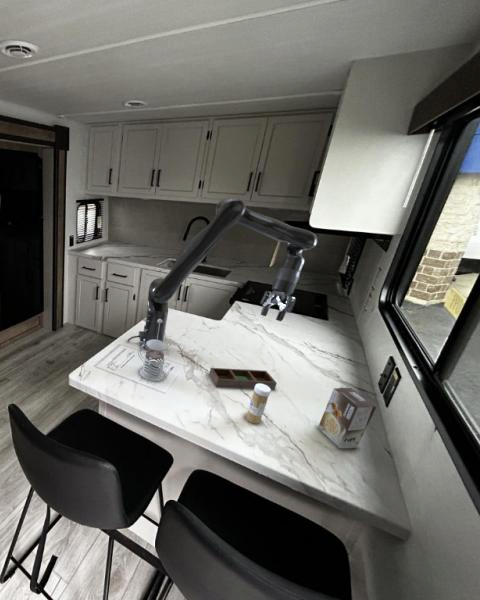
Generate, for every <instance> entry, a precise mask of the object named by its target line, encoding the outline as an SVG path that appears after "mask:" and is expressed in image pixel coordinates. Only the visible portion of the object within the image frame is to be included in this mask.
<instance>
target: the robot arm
mask: <svg viewBox="0 0 480 600" xmlns="http://www.w3.org/2000/svg"><path fill="white" fill-rule="evenodd" d="M236 224H238V225H241V226H243V227H247V228H248V229H250V230H253V231H255V232H257V233H258V234H261V235H263V236H264V237H267V238H269V239H272V240H274V241H276V242H280V243H286V245H285V252H284V259H283V261H282V263H281V265H280V268H279V270H278V271H277V273H276V276H275V278H274V281H273V284H272V286H271V289H272V291H268V290H266V291H264V294H263V296H262V298H261V300H260V305H262V309H261V311H260V316H263V317H266V316H267V314H268V313H269V310H270V308H271V307H272V306H274V305H277V306H278V307H279V311H278V313H277V315H276V318H275V320H276V321H278V322H282V321H283V320H284V318H285V316H286V313H292V311H293V309H294V306H295V304H296V301H297V298H296V297H295V296H291V295H293V293H294V291H295V288H296V286H297V283H298V282H299V279H300V276H301V275H300V274H301V272H302V269H303V267H304V265H305V261H306V260H305V257H303V256H302V255H303V251H308V250H311V249H314V248H315V247H316V246H317V244H318V237H317V235H316V234H315V233H314V232H312V231H311V230H307V229H304V228H300V227H297V226H296V227H295V226H292V225H289V224H288V223H285V222H283V221H280V220H279V219H275V218H273V217H270V216H267V215H264V214H261V213H258V212H256V211H253V210H251V209H249V208H247V207H246V204H245V202H244V201H243V199H240V198H239V197H238V198H237V197H226V198H223V199H221V200H220V201H219V202H218V203H217V204H216V207H215V216H214V217H213V218H212V219H211V221H210V222H209V224H208V225H206V226H205V227H204V228H203V229H202V230H200V231H199V232H198V233H197V234H196V235H194V236H193V237H192V238H191V239H190V240H189V241H188V242H187V244H185V246H184V247H183V248H182V249H181V251H180V252H179V254H178V255H177V257H176V259H175V261H174V263H173V265H172V267H171V269H170V271H169V272H168V273H167V275H166V276H164V278H161V277H160V278H159V277H158V278H155V279H154V280H152V281H151V282H150V284H149V287H148V295H147V308H146V309H147V310H146V318H145V325H143V330H140V331H138V335H134V336H130V337H129V338H128V339H127V342H129V341H131V340H133V339H136V338H139V342H141V344H142V345H143V344H146V343H147V341H149V340H157V336H158V340H161V341H162V342H164V341H165V335H166V328H167V322H168V316H169V301H170V300H171V299H172V298H173V297H174V295H175V294H176V293H177V291H178V290H179V288H180V287H181V285H182V284H183V283H184V282H185V280H187V278H188V277H189V276H190V275H191V274H192V273H193V271H194V270H196V268H197V267H198V266H199V265H200V264H201V263H202V262H203V260H204V259H205V258H206V257H207V256H208V255H209V254H210V252H211V251H212V250H213V249H214V247H215V246H216V245H217V244H218V243H219V241H220V240H221V239H222V238H223V236H224V235H225V234H226V233H228V232H229V230H231V229H232V228H233V227H234V226H235V225H236ZM158 319H162V323H160V327H159V323H158V322H157V321H158ZM158 330H159V333H158ZM146 347H147V345H145V346H144V345H143V347H142V348H143V350H146V351H147V350H149V349H150V348H149V347H147V348H146Z"/></svg>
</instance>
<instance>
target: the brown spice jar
mask: <svg viewBox="0 0 480 600" xmlns="http://www.w3.org/2000/svg"><path fill="white" fill-rule="evenodd" d="M271 392H272V390H271V389H270V388H269V387H268V386H267V385H264V384H256V385H255V388H254V389H253V394H252V397H251V398H250V399H251V400H250V402H249V406H248V409H247V413H246V415H245V418H246V420H247V421H248V422H250V423H251V424H260V423H261V421H262V417H263V415H264V411H265V409H266V406H267V404H268V399H269V396H270V395H271Z"/></svg>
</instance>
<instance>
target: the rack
mask: <svg viewBox="0 0 480 600" xmlns="http://www.w3.org/2000/svg"><path fill="white" fill-rule="evenodd" d="M208 376H209V377H210V379H211V381H212V382H213V385H214V386H215V388H225V389H226V388H227V389H245V390H254V388H255V385H256V384H264V385H267V386H268V387H269V388H270V389H271V391H275V390H276V387H277V383H278V382H277V381H276V380H275V379H274V378H273V377H272V376H271V374H270V373H269V372H268V371H267V370H259V369H240V368H220V367H210V369H209V373H208Z"/></svg>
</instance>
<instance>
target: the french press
mask: <svg viewBox="0 0 480 600" xmlns="http://www.w3.org/2000/svg"><path fill="white" fill-rule="evenodd" d="M157 322H158V323H159V327H160V323H162V319H158V321H157ZM158 333H159V330H158ZM143 345H144V346H145V345H147V347H149V348H150V349H149V350H147V349H146V352H145V356H144V357H143V356H142V352H141V349H142V348H143ZM147 347H146V348H147ZM167 347H168V345H167V344H166V343H165V342H164V341H163V342H162V341H161V340H158V336H157V340H149V341H147V343H146V344H142V345H141V346H140V347H139V348H138V351H137V354H138V358H139V359H140V360H141V361H142V362H143V364H142V368H141V369H140V371H139V374H140V376H141V377H142V378H144V379H146V380H147V381H150V382H159V381H162V380H163V379H164V378H165V374H164V372H163V369H164V365H165V364H164V363H165V353H164V352H163V351H166V349H167Z"/></svg>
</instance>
